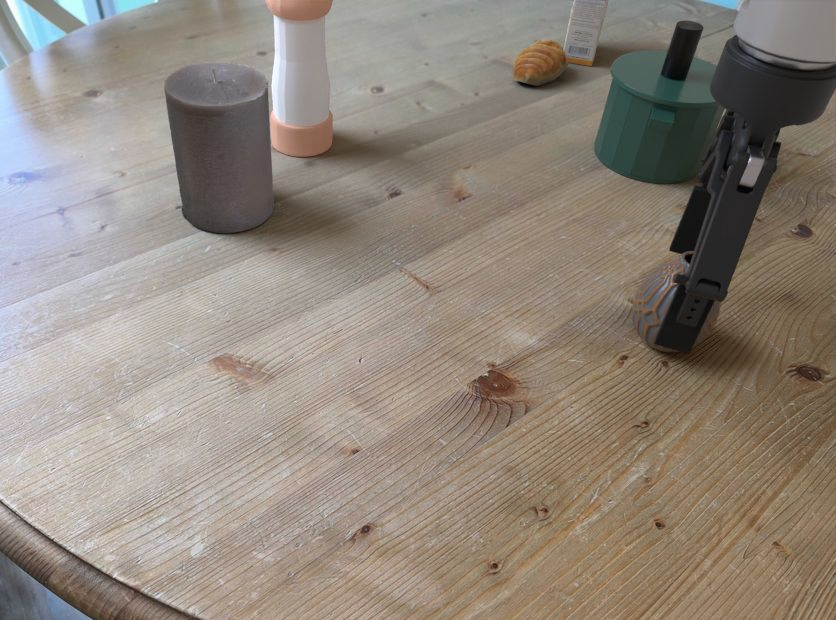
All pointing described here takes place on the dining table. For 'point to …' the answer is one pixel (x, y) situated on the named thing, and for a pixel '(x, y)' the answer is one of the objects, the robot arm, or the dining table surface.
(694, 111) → the pot
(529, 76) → the pastry
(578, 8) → the supplement box
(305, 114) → the salt shaker
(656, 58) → the lid
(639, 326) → the vase
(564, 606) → the dining table surface
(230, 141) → the pillar candle
